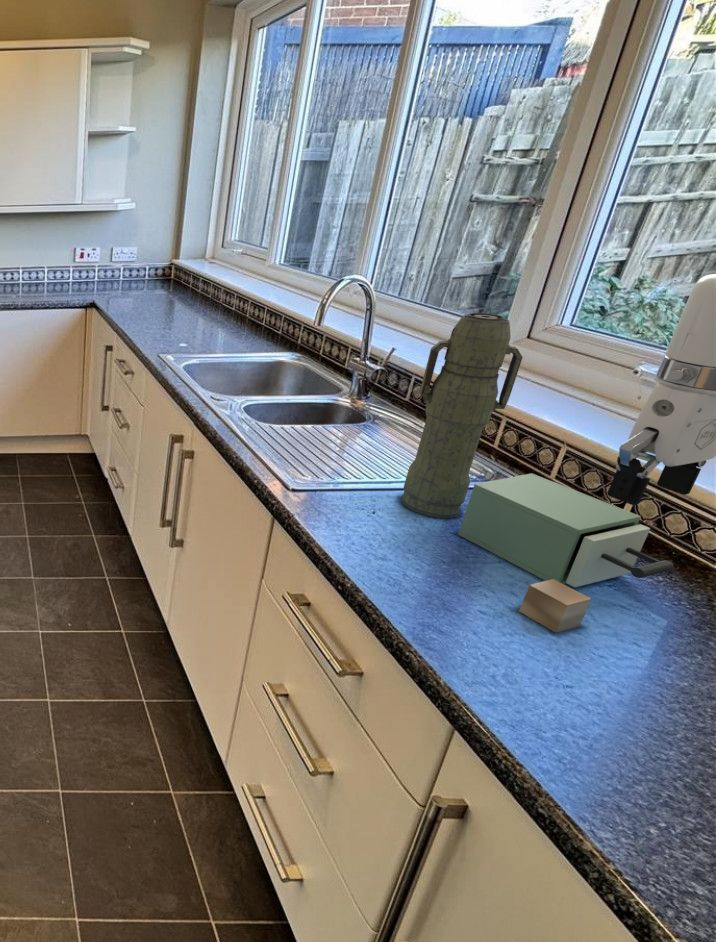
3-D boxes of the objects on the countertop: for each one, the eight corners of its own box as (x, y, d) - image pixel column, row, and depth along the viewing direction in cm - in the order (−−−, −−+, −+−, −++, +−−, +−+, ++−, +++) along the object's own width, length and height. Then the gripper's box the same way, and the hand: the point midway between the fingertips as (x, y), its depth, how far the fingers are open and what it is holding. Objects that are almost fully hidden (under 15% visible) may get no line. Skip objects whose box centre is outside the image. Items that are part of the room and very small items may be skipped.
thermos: (385, 489, 118) (433, 308, 105) (460, 500, 114) (520, 312, 101) (396, 511, 110) (449, 319, 97) (476, 524, 106) (543, 324, 93)
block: (579, 626, 82) (591, 598, 81) (555, 632, 81) (567, 605, 79) (542, 605, 86) (553, 578, 85) (518, 611, 85) (529, 584, 83)
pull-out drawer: (673, 593, 87) (696, 546, 84) (616, 609, 84) (638, 560, 81) (530, 527, 103) (546, 486, 100) (479, 538, 100) (493, 496, 98)
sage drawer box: (616, 571, 93) (641, 516, 90) (556, 586, 90) (579, 530, 86) (513, 522, 106) (531, 473, 103) (457, 534, 103) (474, 483, 100)
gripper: (694, 391, 72) (637, 518, 78) (789, 377, 76) (727, 499, 82) (616, 372, 78) (569, 491, 85) (707, 360, 83) (656, 474, 89)
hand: (647, 495), depth 83 cm, fingers open, 9 cm apart
